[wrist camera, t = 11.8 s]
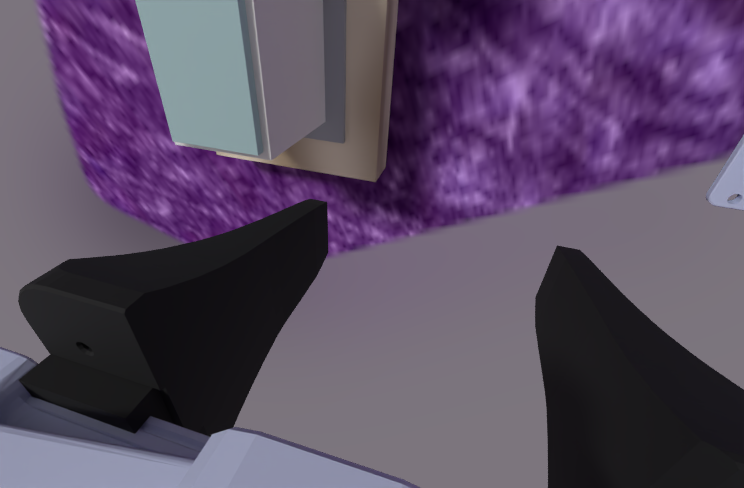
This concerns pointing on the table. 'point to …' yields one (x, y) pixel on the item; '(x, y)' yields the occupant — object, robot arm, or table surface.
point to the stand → (351, 93)
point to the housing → (238, 71)
